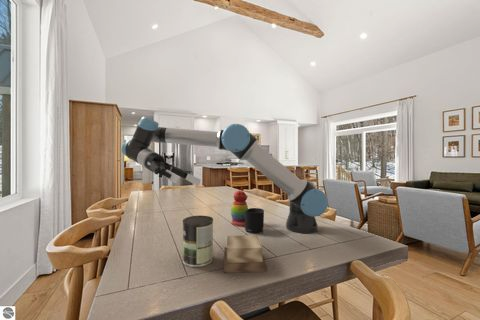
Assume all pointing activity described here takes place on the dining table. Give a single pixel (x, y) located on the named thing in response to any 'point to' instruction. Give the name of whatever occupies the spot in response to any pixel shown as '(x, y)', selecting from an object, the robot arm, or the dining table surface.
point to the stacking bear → (239, 209)
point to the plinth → (243, 265)
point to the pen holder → (254, 220)
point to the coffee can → (197, 241)
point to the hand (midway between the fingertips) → (189, 181)
